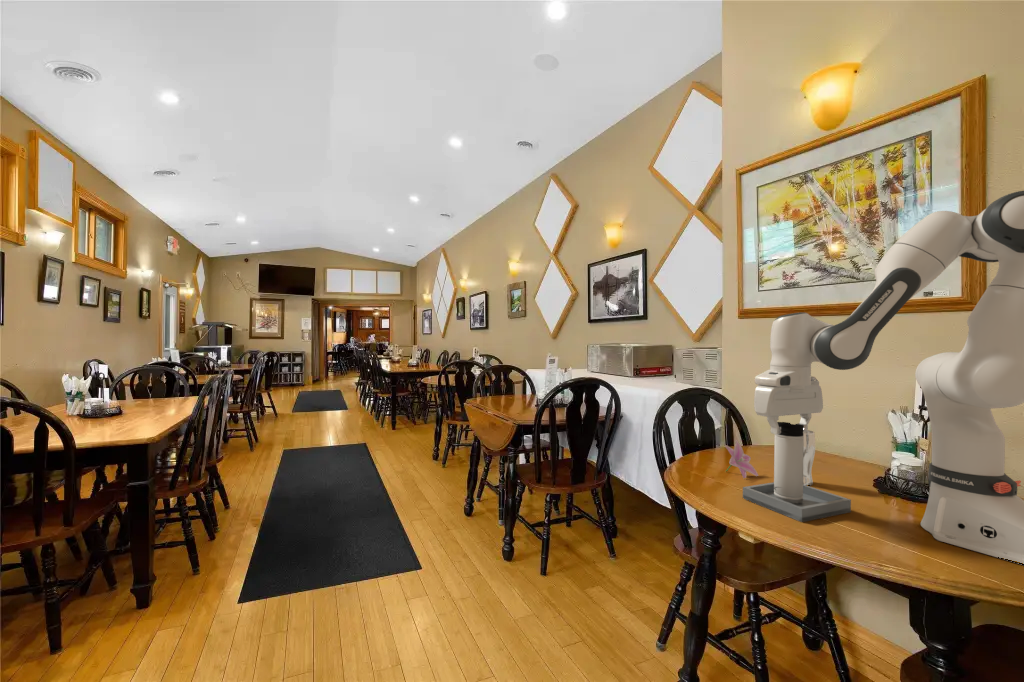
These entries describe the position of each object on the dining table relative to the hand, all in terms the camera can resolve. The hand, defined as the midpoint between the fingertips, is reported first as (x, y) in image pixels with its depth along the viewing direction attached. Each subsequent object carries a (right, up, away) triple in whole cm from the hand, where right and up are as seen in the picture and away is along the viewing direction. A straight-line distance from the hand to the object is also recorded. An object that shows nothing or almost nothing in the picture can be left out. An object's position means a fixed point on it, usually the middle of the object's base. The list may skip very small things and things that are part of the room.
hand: (789, 432), depth 114 cm
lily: (-1, -18, +24) cm, 30 cm away
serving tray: (+1, -18, 0) cm, 18 cm away
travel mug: (0, -17, 0) cm, 17 cm away
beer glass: (+14, -18, +18) cm, 29 cm away
